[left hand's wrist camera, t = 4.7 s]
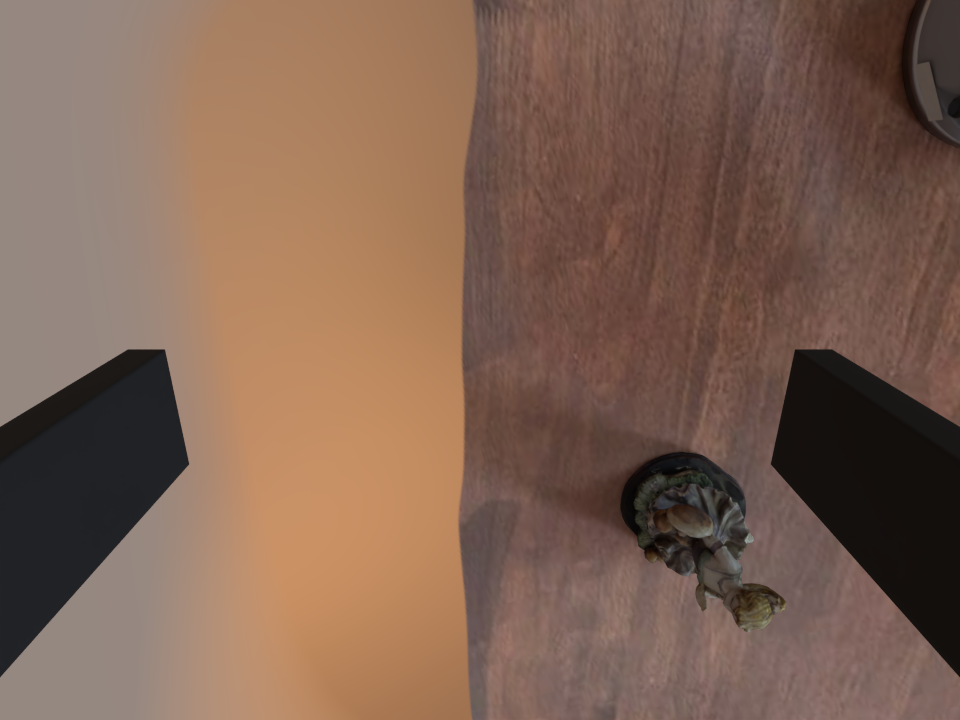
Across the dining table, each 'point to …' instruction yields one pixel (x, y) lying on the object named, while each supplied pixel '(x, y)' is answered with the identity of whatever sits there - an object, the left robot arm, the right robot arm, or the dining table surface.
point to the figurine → (698, 531)
